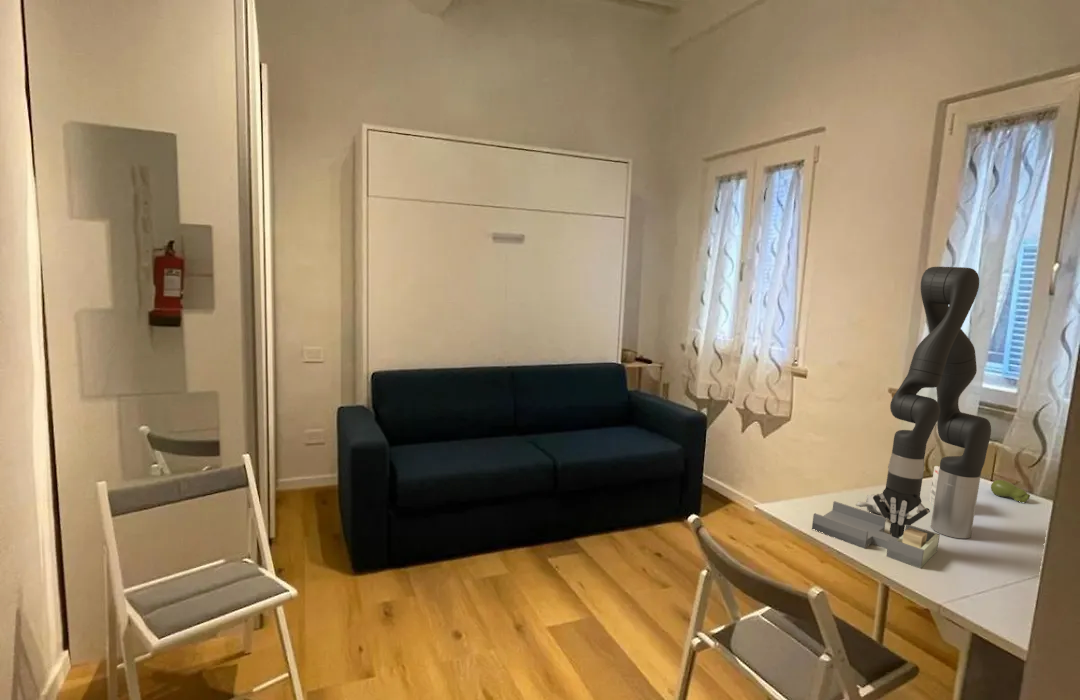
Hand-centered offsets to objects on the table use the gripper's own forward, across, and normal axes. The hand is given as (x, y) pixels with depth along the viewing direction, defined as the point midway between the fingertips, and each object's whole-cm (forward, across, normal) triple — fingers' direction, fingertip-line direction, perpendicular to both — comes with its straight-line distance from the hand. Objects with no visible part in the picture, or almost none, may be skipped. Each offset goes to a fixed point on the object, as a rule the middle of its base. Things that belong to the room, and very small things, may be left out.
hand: (895, 536), depth 153 cm
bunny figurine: (+3, +11, -21) cm, 24 cm away
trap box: (+3, +5, 0) cm, 6 cm away
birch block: (+1, -4, +1) cm, 4 cm away
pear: (+3, -12, -69) cm, 70 cm away
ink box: (+3, 0, -42) cm, 42 cm away
